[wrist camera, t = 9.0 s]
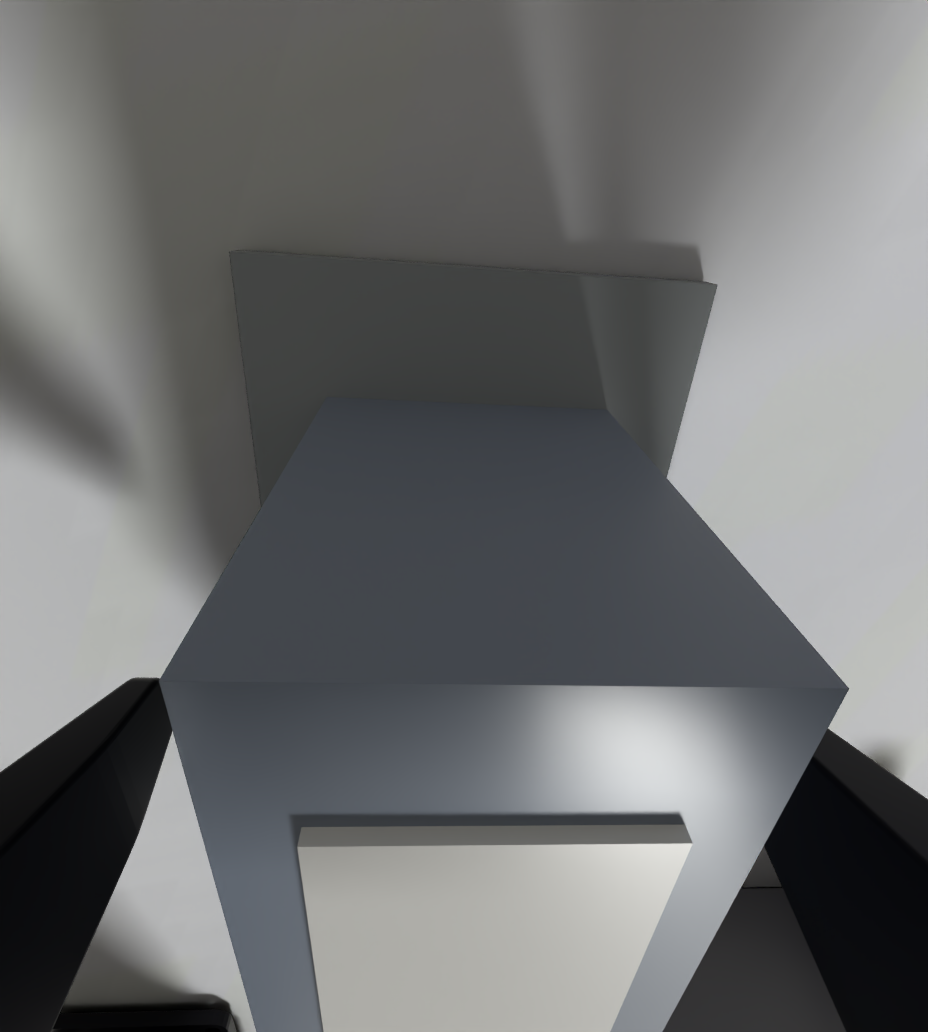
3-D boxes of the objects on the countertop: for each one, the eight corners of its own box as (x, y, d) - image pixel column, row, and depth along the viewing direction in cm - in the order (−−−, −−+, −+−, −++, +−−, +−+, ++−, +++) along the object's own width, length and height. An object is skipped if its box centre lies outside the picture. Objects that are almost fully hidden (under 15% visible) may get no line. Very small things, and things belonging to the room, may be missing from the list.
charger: (348, 771, 13) (287, 1168, 8) (326, 397, 9) (147, 699, 3) (537, 771, 13) (607, 1152, 8) (607, 409, 9) (865, 705, 4)
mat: (301, 783, 14) (298, 799, 13) (238, 250, 8) (229, 252, 8) (578, 784, 14) (581, 799, 14) (705, 282, 8) (717, 285, 8)
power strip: (369, 974, 19) (352, 1168, 15) (363, 820, 15) (338, 1032, 11) (925, 961, 20) (1038, 1135, 16) (1061, 818, 16) (1255, 1005, 12)
